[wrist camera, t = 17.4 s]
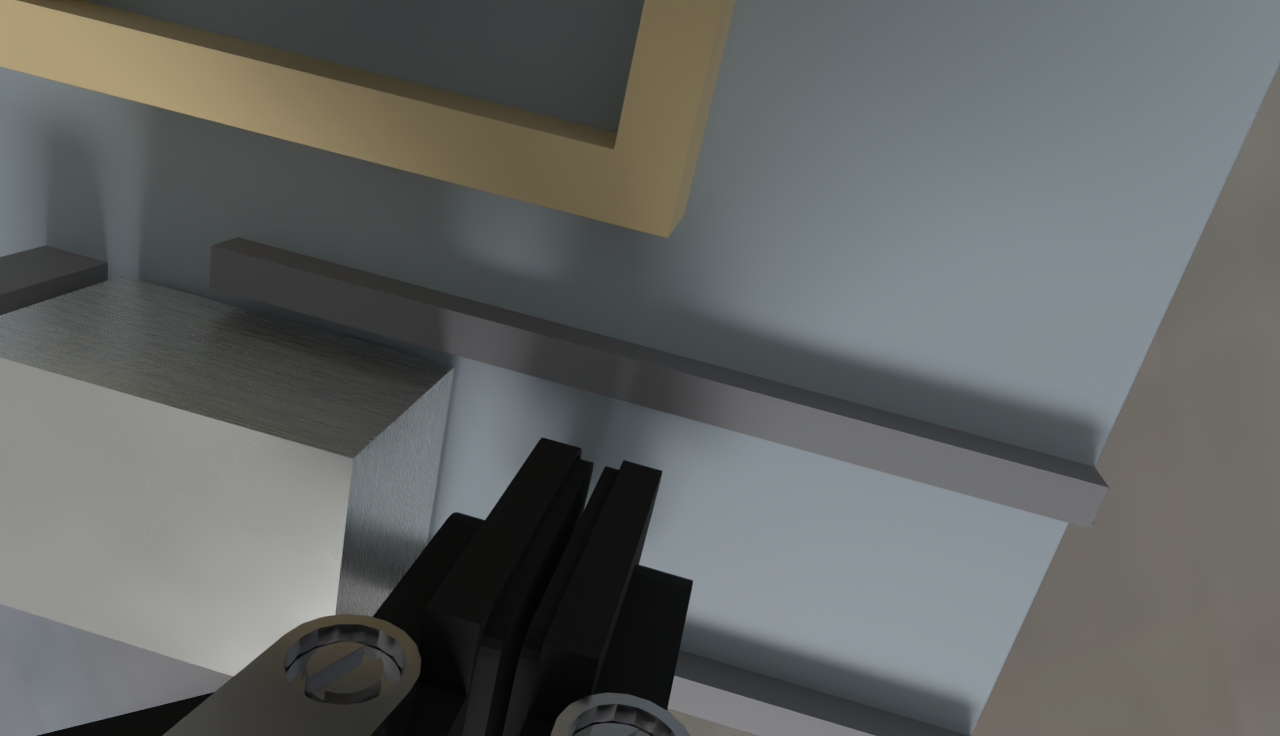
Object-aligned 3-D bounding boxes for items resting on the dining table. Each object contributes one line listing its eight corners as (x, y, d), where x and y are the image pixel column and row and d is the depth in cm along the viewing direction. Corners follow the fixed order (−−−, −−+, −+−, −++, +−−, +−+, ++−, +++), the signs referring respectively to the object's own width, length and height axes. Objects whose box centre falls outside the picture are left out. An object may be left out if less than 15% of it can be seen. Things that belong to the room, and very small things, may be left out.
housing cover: (121, 480, 14) (-50, 589, 11) (123, 275, 13) (-69, 337, 10) (423, 570, 13) (324, 704, 11) (454, 366, 12) (352, 458, 9)
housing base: (38, 422, 17) (-180, 527, 13) (0, -778, 11) (-421, -1215, 7) (935, 684, 15) (979, 886, 12) (1455, -528, 9) (1885, -910, 6)
